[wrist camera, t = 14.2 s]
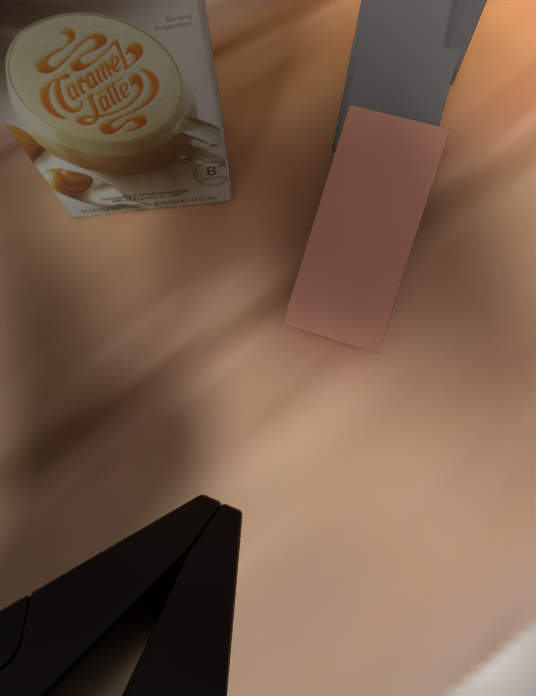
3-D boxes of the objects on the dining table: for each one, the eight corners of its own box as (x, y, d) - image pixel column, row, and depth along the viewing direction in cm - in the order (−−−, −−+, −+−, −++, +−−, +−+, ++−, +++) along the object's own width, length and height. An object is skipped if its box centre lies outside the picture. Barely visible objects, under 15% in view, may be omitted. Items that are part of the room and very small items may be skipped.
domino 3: (458, 68, 27) (504, -45, 30) (383, 48, 28) (435, -61, 31) (448, 94, 29) (493, -15, 32) (378, 75, 30) (428, -31, 32)
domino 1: (419, 160, 24) (461, -45, 24) (332, 149, 25) (371, -50, 24) (414, 172, 26) (454, -19, 25) (333, 161, 27) (370, -24, 26)
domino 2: (401, 263, 23) (459, 50, 22) (310, 242, 23) (364, 34, 23) (396, 269, 24) (450, 71, 24) (312, 249, 25) (362, 56, 24)
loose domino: (377, 353, 21) (450, 129, 20) (282, 323, 22) (349, 104, 21) (374, 352, 23) (441, 145, 22) (286, 324, 23) (348, 123, 23)
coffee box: (68, 224, 26) (-237, -178, 11) (70, 131, 28) (-183, -313, 13) (236, 203, 26) (163, -230, 11) (226, 111, 28) (152, -357, 13)
